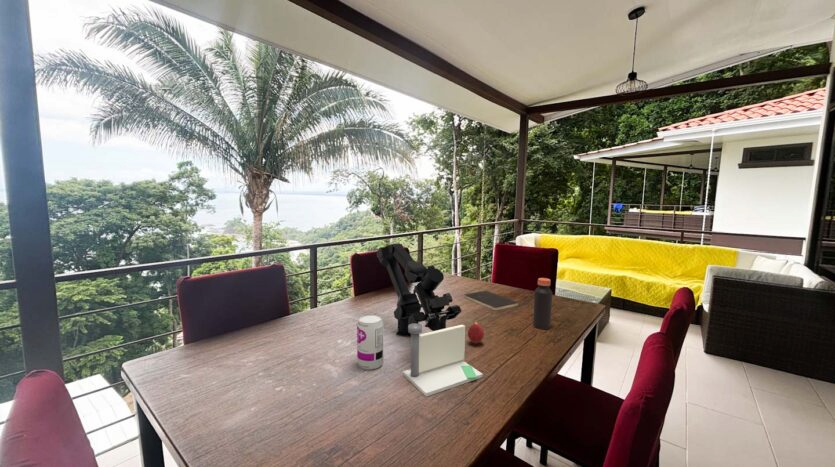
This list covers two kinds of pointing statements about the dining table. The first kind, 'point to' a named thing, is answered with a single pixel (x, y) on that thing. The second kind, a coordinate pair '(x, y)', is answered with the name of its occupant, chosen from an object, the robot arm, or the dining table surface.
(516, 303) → the hardcover book
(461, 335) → the hinged door panel
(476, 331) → the onion
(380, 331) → the supplement can
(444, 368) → the white base board
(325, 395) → the dining table surface
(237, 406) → the dining table surface
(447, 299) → the robot arm
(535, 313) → the bottle
